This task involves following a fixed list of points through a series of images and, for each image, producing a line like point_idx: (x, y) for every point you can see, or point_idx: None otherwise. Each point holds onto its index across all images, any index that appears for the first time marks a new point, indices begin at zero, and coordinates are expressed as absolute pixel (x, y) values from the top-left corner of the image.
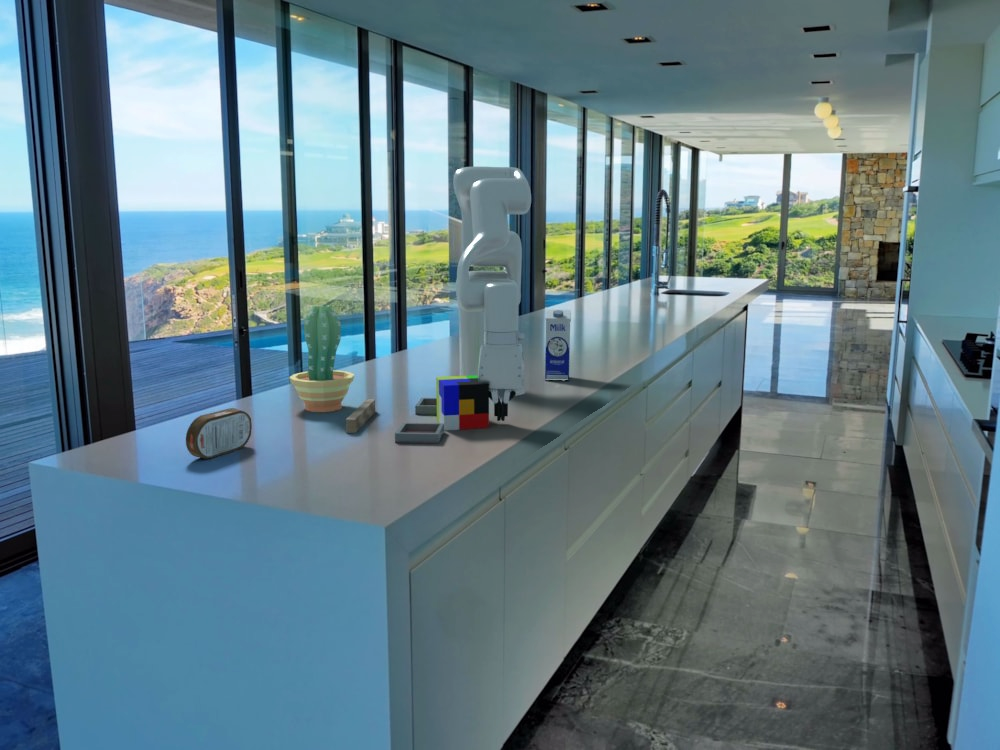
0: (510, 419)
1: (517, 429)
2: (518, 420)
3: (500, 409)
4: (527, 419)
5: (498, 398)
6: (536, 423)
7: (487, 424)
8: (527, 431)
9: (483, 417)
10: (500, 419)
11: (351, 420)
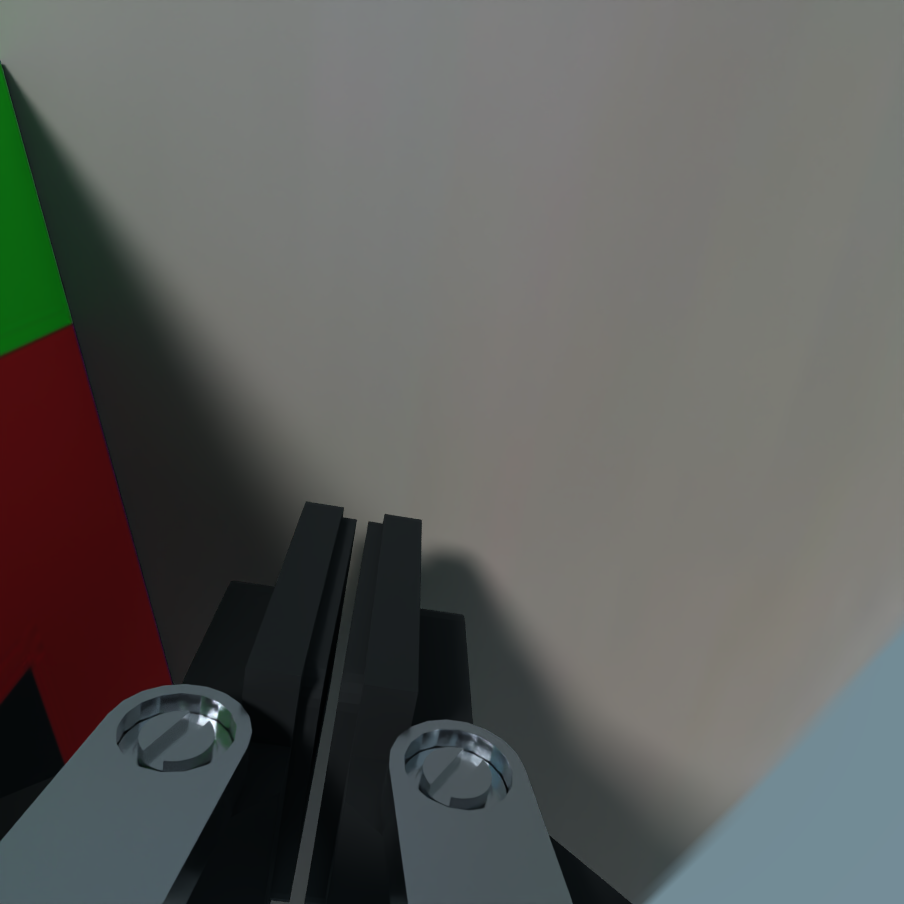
0: (543, 280)
1: (535, 796)
2: (655, 360)
3: (312, 772)
4: (813, 312)
5: (229, 885)
6: (861, 557)
7: None
8: (632, 876)
9: None
10: (335, 652)
11: None
